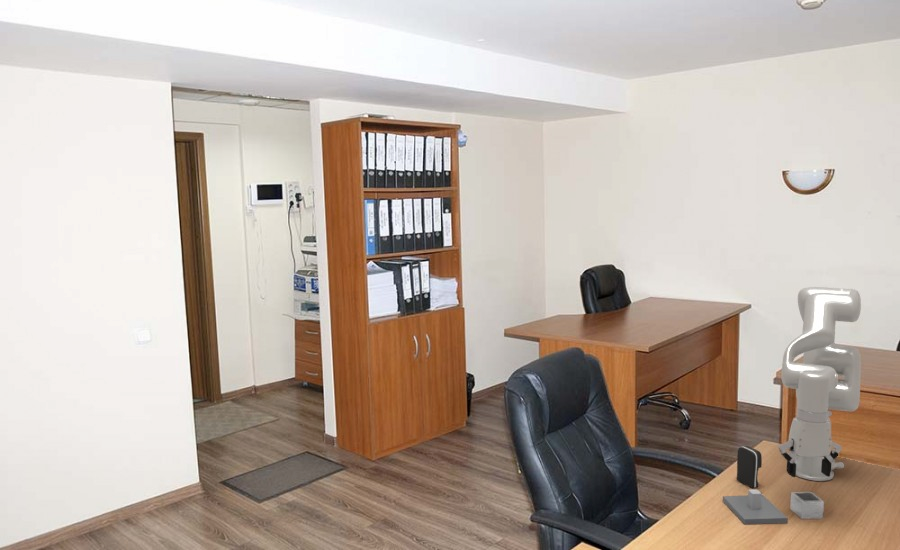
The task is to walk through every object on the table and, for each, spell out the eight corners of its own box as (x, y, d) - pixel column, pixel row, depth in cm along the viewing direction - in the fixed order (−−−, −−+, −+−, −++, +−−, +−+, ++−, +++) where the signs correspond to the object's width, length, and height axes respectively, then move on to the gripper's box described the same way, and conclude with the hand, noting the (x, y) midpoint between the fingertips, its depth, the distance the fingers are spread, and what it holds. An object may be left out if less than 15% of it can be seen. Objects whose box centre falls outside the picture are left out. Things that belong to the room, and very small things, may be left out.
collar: (810, 508, 196) (811, 491, 196) (822, 518, 190) (823, 501, 190) (790, 508, 196) (791, 492, 195) (801, 519, 190) (802, 502, 189)
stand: (762, 499, 202) (763, 480, 201) (787, 523, 188) (788, 502, 187) (722, 500, 202) (723, 481, 201) (744, 524, 188) (745, 503, 187)
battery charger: (762, 486, 210) (764, 451, 209) (753, 489, 209) (754, 453, 207) (744, 478, 217) (746, 443, 215) (735, 480, 215) (737, 445, 214)
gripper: (834, 410, 193) (831, 469, 195) (774, 411, 193) (771, 470, 195) (851, 419, 186) (847, 480, 188) (788, 420, 185) (784, 481, 187)
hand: (808, 474), depth 191 cm, fingers open, 9 cm apart
